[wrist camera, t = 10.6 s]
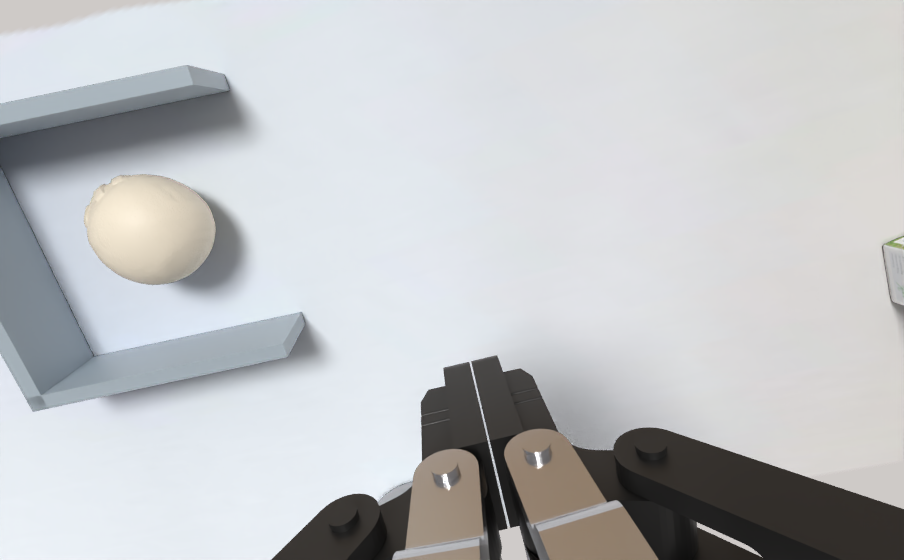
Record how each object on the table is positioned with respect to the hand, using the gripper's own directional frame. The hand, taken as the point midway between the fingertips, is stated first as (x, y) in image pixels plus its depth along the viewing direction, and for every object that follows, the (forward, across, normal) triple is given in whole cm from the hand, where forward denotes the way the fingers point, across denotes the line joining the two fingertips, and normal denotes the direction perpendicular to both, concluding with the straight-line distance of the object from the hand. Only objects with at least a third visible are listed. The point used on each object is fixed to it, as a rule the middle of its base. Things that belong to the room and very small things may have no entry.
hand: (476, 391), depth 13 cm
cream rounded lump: (+24, +18, -5) cm, 30 cm away
